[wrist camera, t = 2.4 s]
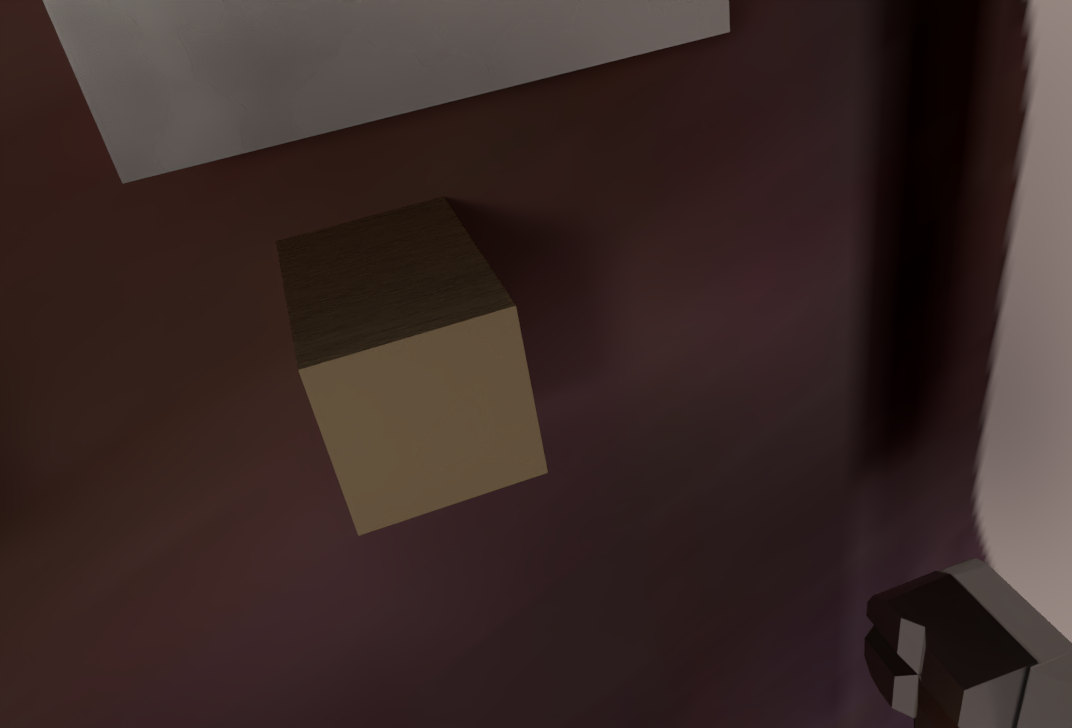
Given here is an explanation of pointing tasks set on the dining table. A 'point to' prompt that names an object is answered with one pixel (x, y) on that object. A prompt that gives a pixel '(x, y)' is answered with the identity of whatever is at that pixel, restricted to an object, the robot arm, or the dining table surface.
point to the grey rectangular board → (328, 62)
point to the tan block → (410, 363)
